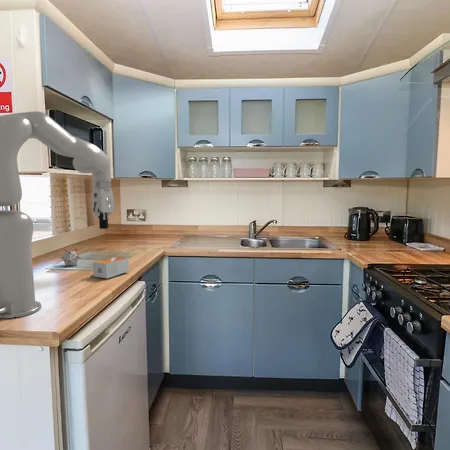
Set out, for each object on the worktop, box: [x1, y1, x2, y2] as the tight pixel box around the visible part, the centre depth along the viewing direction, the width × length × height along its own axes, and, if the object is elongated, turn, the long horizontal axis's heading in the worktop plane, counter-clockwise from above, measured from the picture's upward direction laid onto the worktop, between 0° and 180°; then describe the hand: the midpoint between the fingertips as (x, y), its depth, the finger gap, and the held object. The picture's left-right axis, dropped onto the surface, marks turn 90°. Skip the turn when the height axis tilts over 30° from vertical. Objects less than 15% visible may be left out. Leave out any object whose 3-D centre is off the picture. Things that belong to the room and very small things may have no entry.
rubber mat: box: [89, 273, 118, 279], centre depth 147 cm, size 11×10×1 cm
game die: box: [60, 249, 82, 268], centre depth 164 cm, size 9×8×10 cm
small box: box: [92, 256, 130, 279], centre depth 146 cm, size 8×6×13 cm
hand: (103, 228), depth 144 cm, fingers closed
